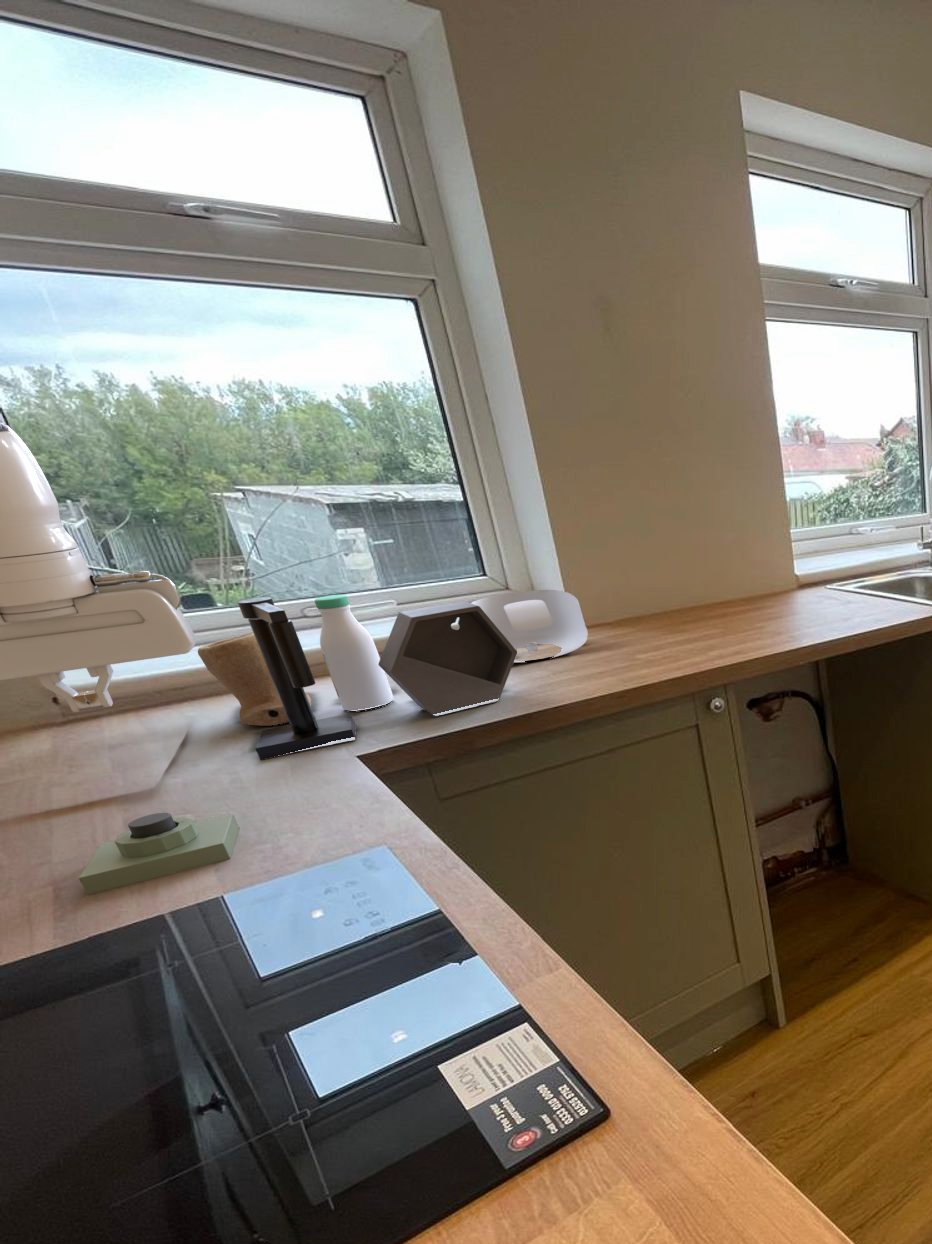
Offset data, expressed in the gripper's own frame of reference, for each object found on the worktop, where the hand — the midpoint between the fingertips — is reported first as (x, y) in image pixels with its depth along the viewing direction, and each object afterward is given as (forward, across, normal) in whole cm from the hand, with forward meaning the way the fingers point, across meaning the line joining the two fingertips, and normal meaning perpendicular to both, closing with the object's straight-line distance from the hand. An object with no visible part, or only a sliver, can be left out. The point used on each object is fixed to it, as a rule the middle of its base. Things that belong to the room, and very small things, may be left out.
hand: (93, 708), depth 89 cm
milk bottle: (+19, -20, -55) cm, 62 cm away
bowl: (+19, -50, -75) cm, 92 cm away
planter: (+19, -34, -43) cm, 58 cm away
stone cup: (+19, -6, -59) cm, 62 cm away
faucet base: (+19, -12, -39) cm, 45 cm away
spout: (+7, -13, -34) cm, 37 cm away
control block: (+19, 0, 0) cm, 19 cm away
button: (+15, 0, 0) cm, 15 cm away
